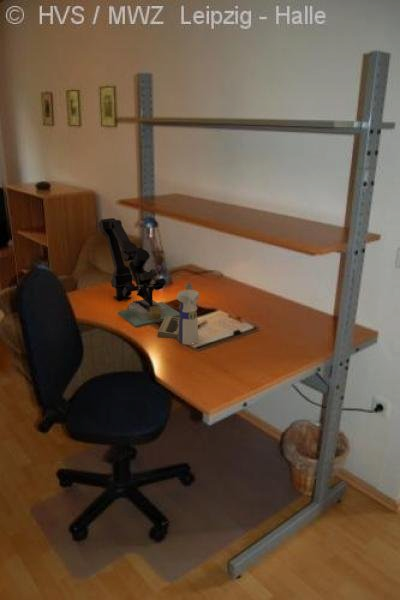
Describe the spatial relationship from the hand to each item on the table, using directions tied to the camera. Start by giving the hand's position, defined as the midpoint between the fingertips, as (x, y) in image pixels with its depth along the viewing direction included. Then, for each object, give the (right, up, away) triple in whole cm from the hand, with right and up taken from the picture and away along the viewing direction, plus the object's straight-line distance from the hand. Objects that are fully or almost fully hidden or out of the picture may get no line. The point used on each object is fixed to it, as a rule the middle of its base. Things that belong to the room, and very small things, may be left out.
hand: (151, 304), depth 198 cm
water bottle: (+16, -14, -17) cm, 28 cm away
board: (-2, -5, +6) cm, 8 cm away
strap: (-2, 0, +4) cm, 5 cm away
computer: (+9, -11, -8) cm, 16 cm away
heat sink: (-2, -4, +5) cm, 7 cm away
